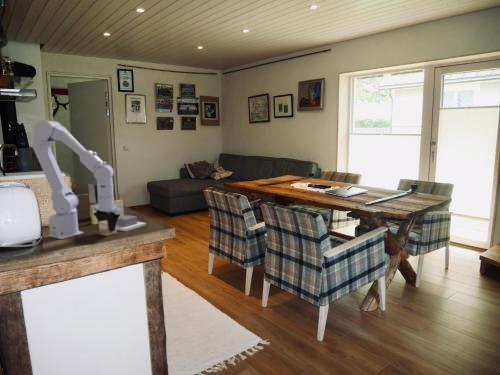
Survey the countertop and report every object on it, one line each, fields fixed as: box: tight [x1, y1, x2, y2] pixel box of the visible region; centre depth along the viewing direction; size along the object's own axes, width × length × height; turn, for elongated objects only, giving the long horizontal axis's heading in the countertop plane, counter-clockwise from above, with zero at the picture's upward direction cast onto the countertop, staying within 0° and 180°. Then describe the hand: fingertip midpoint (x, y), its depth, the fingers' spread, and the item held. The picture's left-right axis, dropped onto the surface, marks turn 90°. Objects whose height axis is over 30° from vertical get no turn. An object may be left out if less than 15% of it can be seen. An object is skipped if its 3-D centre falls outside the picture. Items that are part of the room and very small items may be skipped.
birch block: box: [98, 220, 118, 237], centre depth 140 cm, size 4×4×5 cm
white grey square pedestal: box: [116, 214, 147, 232], centre depth 151 cm, size 11×11×4 cm
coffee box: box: [88, 182, 98, 218], centre depth 167 cm, size 9×6×16 cm
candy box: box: [89, 199, 125, 225], centre depth 161 cm, size 16×2×8 cm, turn 149°
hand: (107, 230), depth 141 cm, fingers closed on birch block, 4 cm apart
